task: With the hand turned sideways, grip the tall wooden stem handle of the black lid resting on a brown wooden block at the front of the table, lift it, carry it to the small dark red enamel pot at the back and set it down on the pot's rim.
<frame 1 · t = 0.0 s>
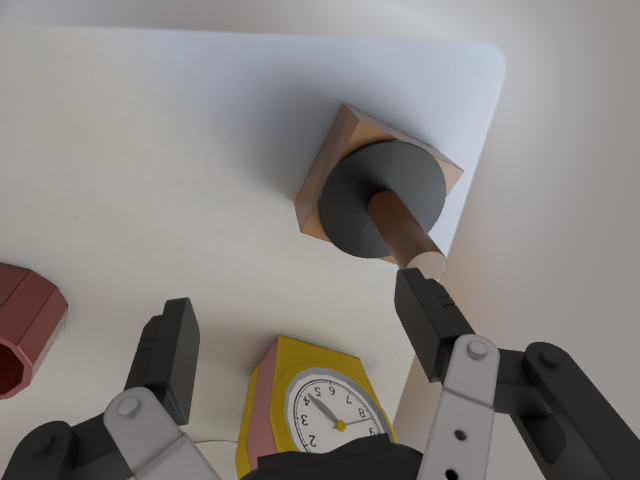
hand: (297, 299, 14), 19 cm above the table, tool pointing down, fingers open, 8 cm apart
alarm clock: (306, 363, 46), on the table
pot: (10, 303, 34), on the table
lid: (381, 202, 28), point 5 cm above the table, touching brown wooden block
brown wooden block: (364, 176, 33), on the table
canister: (210, 468, 55), on the table
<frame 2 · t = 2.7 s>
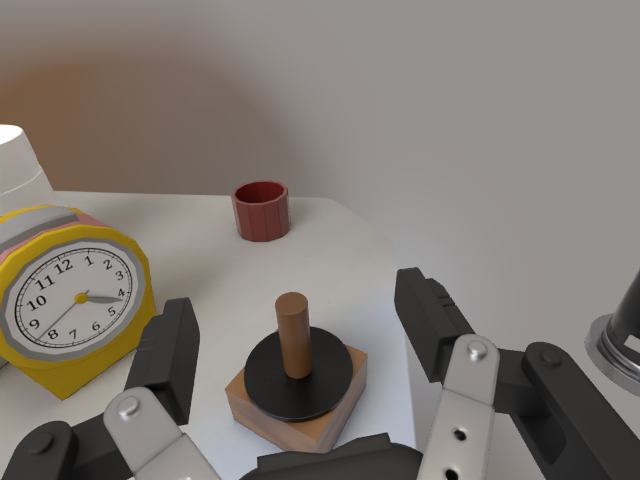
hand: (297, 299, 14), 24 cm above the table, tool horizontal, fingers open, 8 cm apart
alarm clock: (100, 350, 43), on the table
pot: (264, 227, 65), on the table
lid: (298, 370, 34), point 5 cm above the table, touching brown wooden block
brown wooden block: (302, 401, 37), on the table
canister: (25, 268, 57), on the table
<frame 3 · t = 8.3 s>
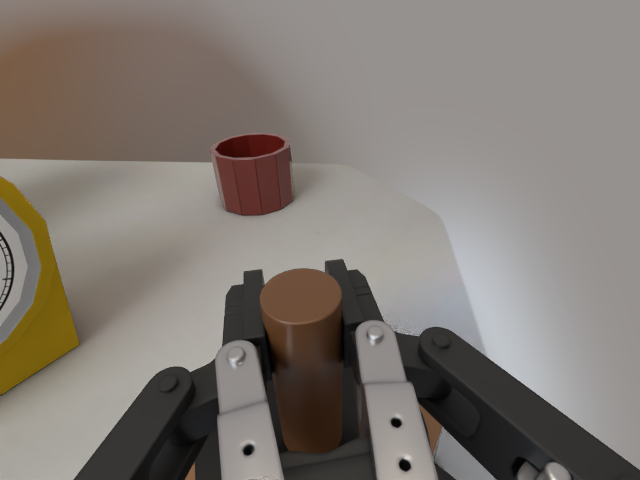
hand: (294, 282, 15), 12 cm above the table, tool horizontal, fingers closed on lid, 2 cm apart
pot: (258, 197, 47), on the table
lid: (313, 437, 16), point 5 cm above the table, touching gripper, brown wooden block
when the fingers open (14 cm above the table, at t = 19.2 s): lid stays where it is, resting on pot.
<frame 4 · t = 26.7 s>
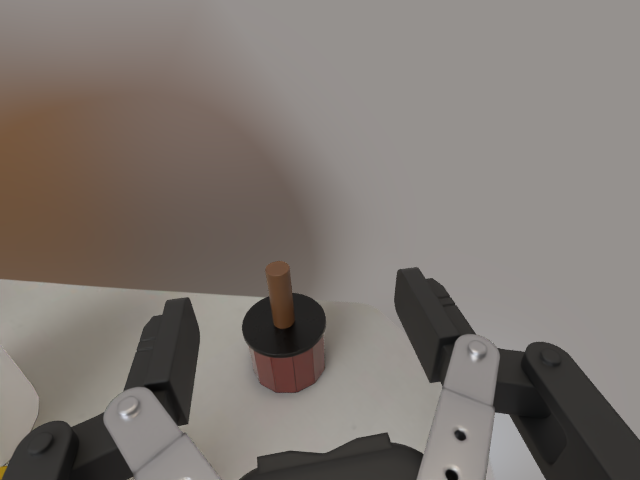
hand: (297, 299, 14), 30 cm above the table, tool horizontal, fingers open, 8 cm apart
pot: (289, 361, 48), on the table
lid: (284, 324, 44), point 7 cm above the table, touching pot
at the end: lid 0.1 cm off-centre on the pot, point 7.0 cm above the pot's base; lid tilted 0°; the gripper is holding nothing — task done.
